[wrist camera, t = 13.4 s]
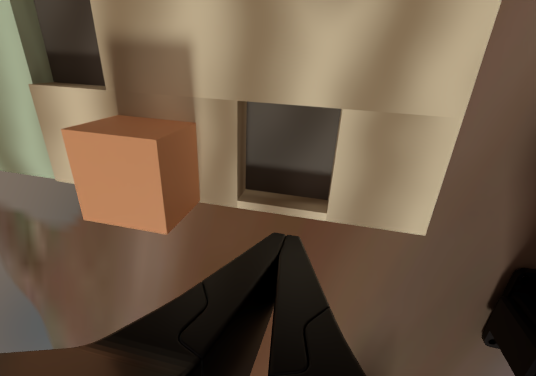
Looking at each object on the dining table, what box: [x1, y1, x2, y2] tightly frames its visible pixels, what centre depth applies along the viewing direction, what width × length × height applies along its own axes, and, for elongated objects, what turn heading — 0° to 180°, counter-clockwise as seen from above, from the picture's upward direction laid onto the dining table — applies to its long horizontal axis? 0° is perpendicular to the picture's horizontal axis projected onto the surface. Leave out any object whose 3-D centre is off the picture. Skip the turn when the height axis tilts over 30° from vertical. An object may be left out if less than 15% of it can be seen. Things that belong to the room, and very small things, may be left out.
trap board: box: [0, 0, 502, 236], centre depth 16 cm, size 33×13×4 cm, turn 87°
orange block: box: [61, 115, 200, 234], centre depth 16 cm, size 5×5×4 cm
